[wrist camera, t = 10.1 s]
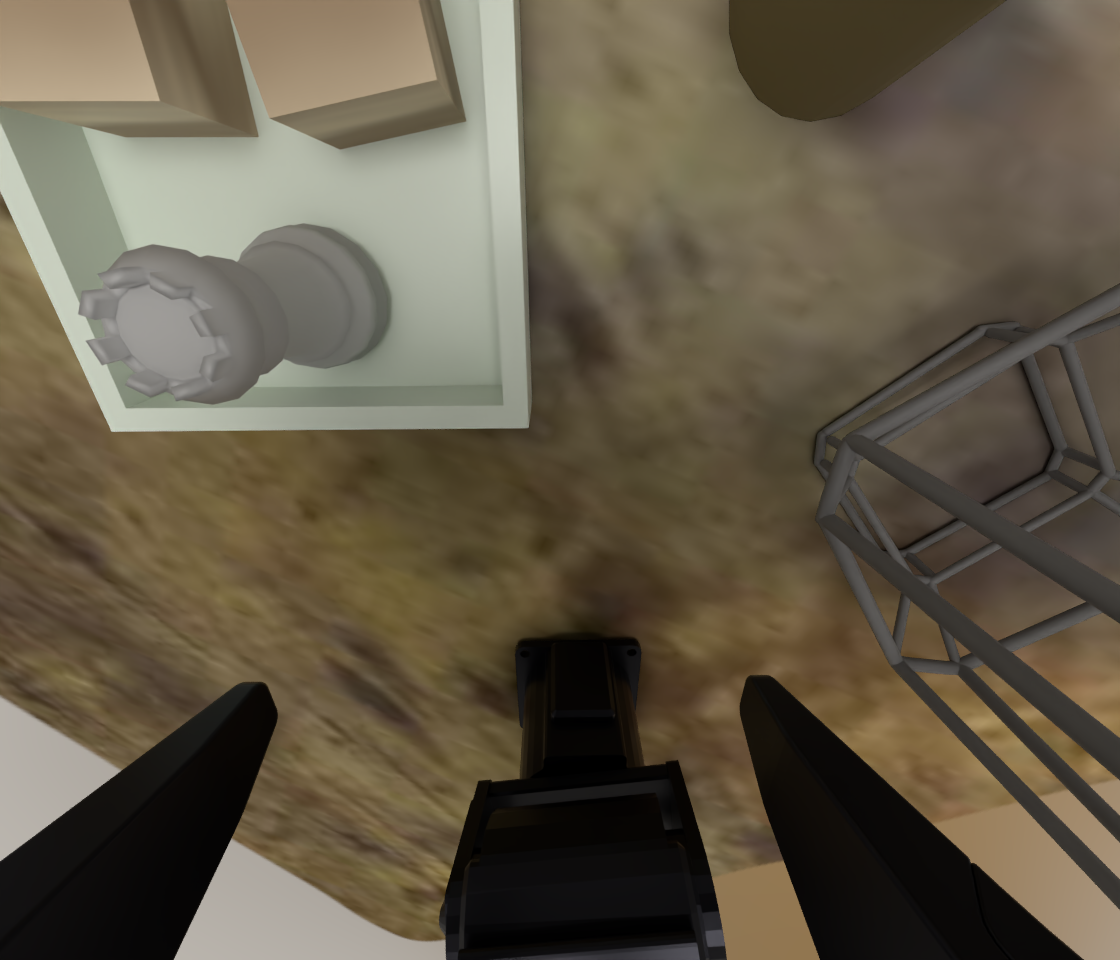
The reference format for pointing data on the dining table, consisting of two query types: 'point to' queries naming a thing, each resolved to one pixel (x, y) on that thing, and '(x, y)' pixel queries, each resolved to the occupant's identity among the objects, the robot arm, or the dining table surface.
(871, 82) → the cork
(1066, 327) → the geometric lantern
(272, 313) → the rook chess piece
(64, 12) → the beech block
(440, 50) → the beech block
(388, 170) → the tray
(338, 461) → the dining table surface
